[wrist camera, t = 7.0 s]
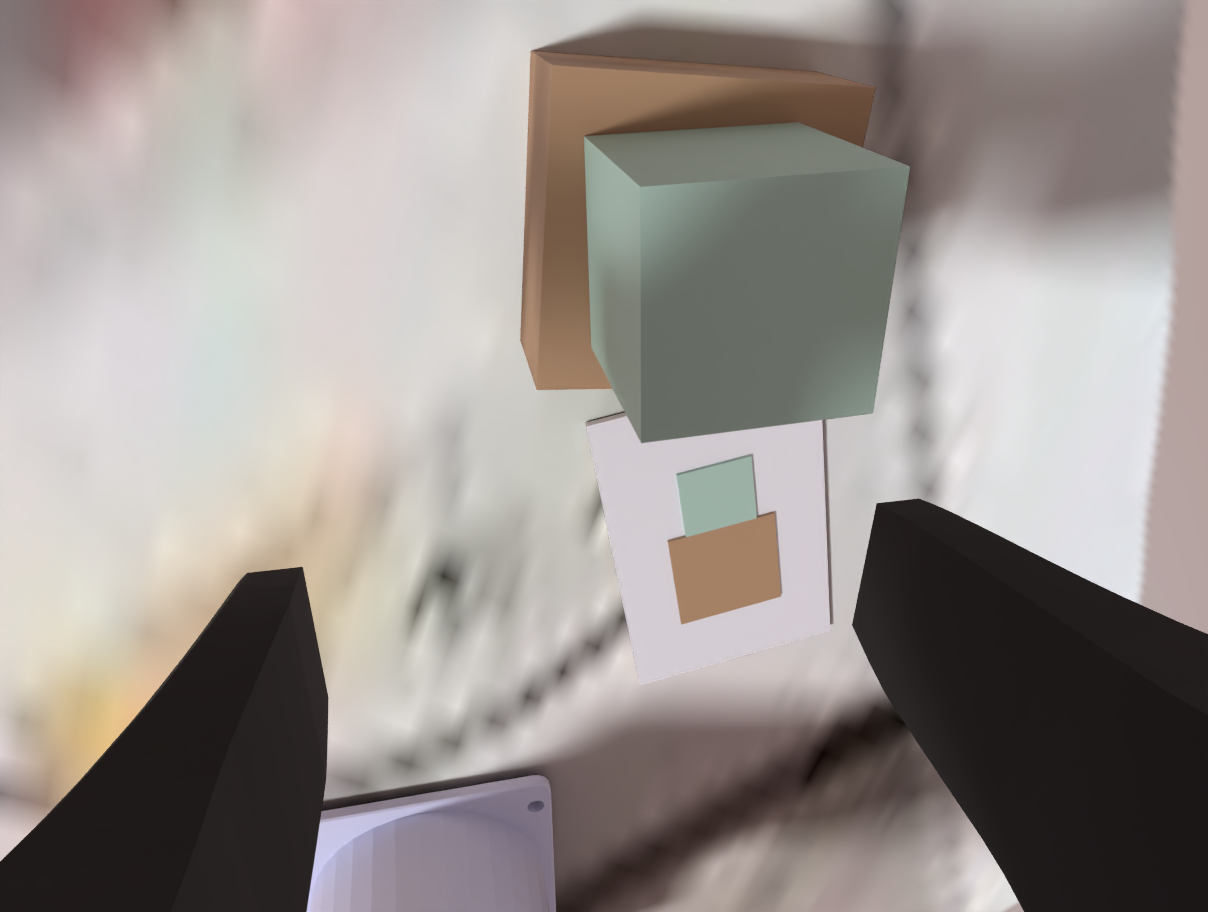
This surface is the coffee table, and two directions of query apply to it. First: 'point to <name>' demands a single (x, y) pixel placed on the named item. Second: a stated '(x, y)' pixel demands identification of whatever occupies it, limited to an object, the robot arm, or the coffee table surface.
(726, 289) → the green brick
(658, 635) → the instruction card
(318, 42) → the coffee table surface
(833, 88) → the walnut brick
